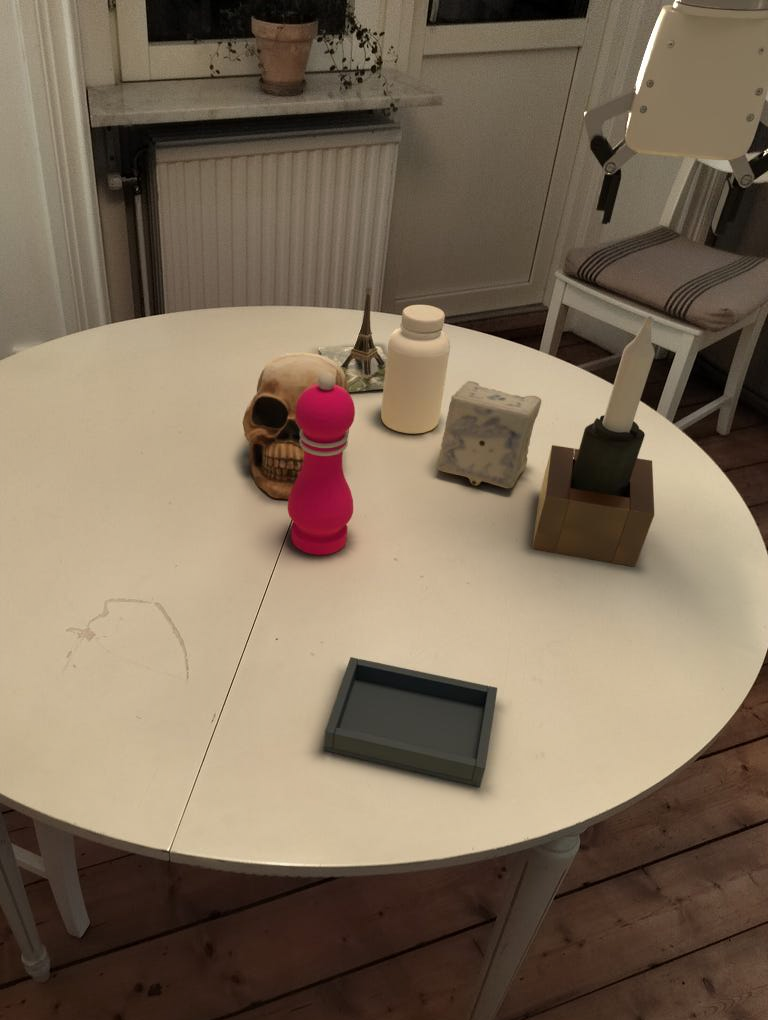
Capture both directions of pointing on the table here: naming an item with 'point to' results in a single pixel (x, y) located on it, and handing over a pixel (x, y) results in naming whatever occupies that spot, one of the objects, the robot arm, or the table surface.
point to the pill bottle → (415, 371)
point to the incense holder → (487, 435)
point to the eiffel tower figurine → (360, 357)
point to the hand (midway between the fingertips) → (660, 225)
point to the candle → (616, 425)
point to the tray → (412, 721)
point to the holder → (593, 513)
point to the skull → (282, 418)
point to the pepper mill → (322, 469)
